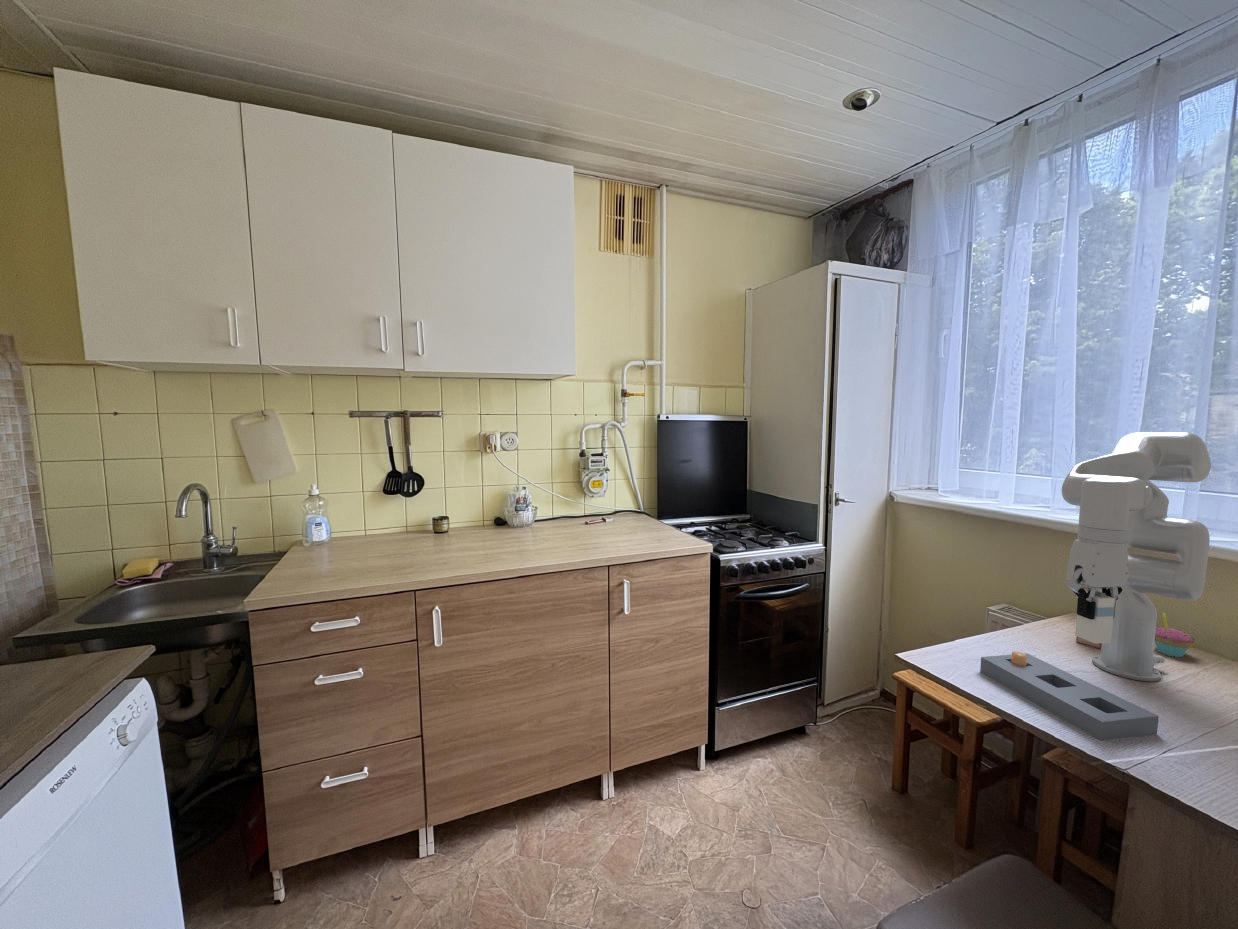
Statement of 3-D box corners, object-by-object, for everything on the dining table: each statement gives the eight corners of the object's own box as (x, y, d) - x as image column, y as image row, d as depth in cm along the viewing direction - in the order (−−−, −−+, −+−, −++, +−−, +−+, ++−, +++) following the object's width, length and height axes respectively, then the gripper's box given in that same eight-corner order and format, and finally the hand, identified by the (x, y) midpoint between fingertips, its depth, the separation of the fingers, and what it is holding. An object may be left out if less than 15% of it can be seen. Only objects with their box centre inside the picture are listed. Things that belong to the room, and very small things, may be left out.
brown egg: (1017, 673, 124) (1018, 651, 124) (1028, 679, 121) (1030, 656, 121) (1007, 674, 124) (1008, 651, 124) (1018, 680, 121) (1019, 657, 121)
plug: (1090, 634, 107) (1095, 588, 107) (1111, 643, 103) (1115, 594, 103) (1074, 635, 107) (1078, 588, 106) (1094, 643, 103) (1099, 595, 102)
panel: (1026, 669, 128) (1027, 653, 127) (1156, 736, 100) (1158, 716, 100) (980, 673, 126) (981, 657, 125) (1100, 742, 98) (1102, 722, 98)
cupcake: (1148, 652, 137) (1151, 612, 136) (1147, 643, 142) (1151, 604, 142) (1194, 663, 130) (1198, 621, 129) (1192, 653, 136) (1196, 613, 135)
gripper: (1115, 530, 108) (1109, 609, 109) (1049, 532, 106) (1044, 611, 108) (1156, 538, 101) (1148, 622, 102) (1086, 540, 99) (1079, 625, 100)
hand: (1095, 615), depth 105 cm, fingers closed on plug, 4 cm apart
